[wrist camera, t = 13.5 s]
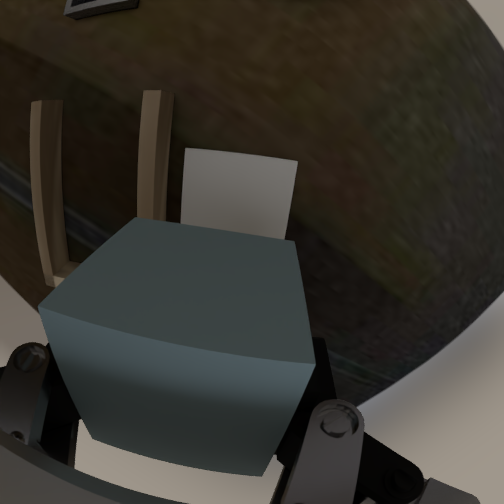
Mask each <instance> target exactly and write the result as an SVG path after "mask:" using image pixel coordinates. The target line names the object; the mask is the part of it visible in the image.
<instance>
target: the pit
mask: <svg viewBox="0 0 504 504" xmlns="http://www.w3.org/2000/svg"><path fill="white" fill-rule="evenodd" d="M138 4H139V0H67V3H66V6H65V10H64V14H63V15H64V16H67V17H70V18H72V19H75V20H78V19H82V18H86V17H90V16H95V15H99V14H104V13H109V12H115V11H121V10H127V9H134V8H138Z"/></svg>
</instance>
